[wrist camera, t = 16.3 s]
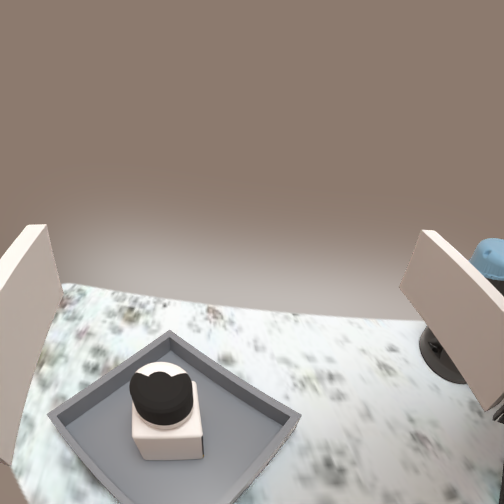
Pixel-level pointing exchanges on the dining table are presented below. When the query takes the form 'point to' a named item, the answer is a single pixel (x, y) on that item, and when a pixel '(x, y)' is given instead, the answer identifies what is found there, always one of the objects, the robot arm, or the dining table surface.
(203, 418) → the box
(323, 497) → the dining table surface
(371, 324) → the dining table surface
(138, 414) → the medicine bottle
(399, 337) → the dining table surface
